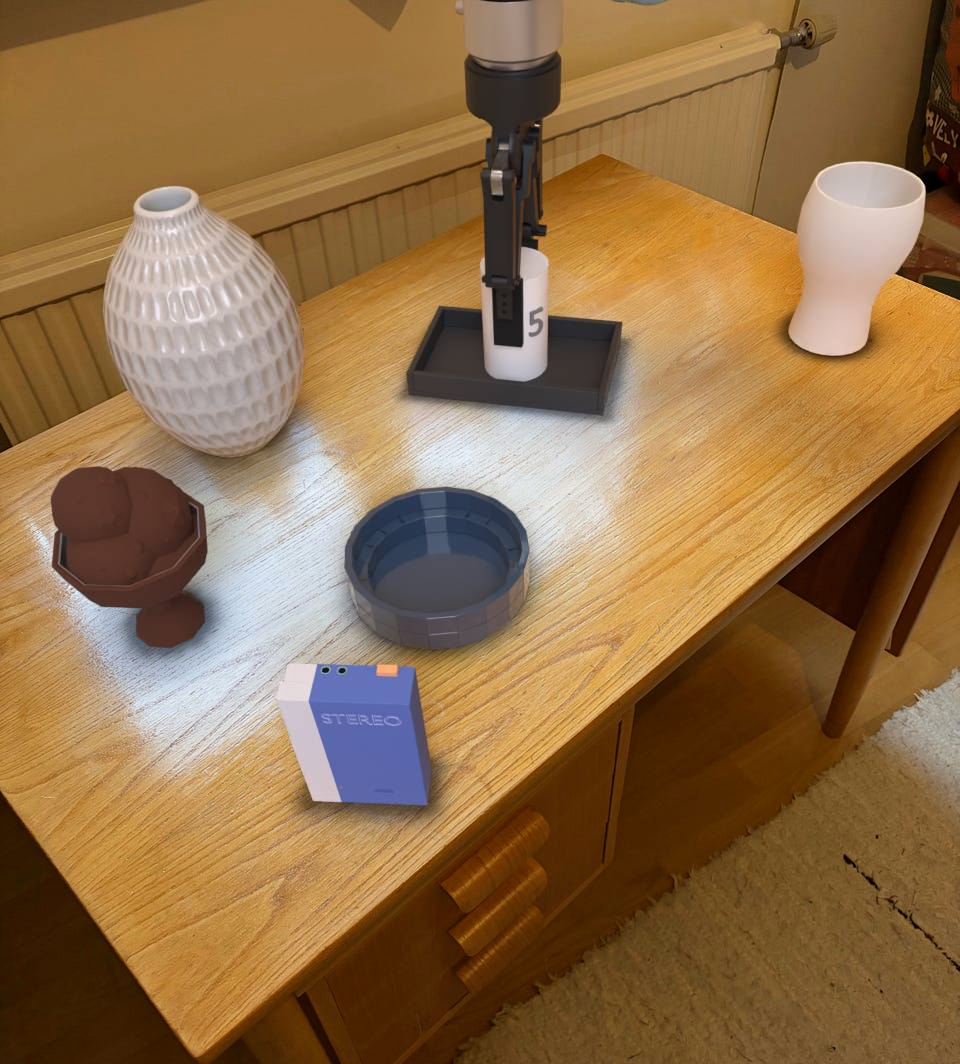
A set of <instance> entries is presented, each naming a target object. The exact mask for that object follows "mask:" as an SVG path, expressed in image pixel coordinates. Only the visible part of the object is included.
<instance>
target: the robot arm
mask: <svg viewBox="0 0 960 1064" xmlns="http://www.w3.org/2000/svg"><path fill="white" fill-rule="evenodd" d="M611 1H612V2H614V3H622V4H623V3H624V4H625V3H629V4H634V5H639V6H647V7H649V6H658V5H660V4H662V3H665V2H668V0H611ZM454 12H455V13H456V14H457V15H460V16H462V17H463V19H462V20H463V23H462V32H463V33H462V34H463V47H464V50H465V52H467V53H468V55H467V56H466V58H465V59H464V61H463V67H464V85H465V86H464V87H465V103H466V107H467V110H468V111H469V112H470V114H471V115H473V117H475V118H477V119H478V120H482V121H485V122H486V123H487V124H489V126H490V127H491V132H490V137H487V138H486V141H485V155H484V156H485V161H486V163H487V167H485V166H483V167H482V168H481V172H480V176H479V177H480V180H481V181H480V182H481V190H482V199H483V242H484V246H483V247H484V248H483V249H484V257H485V275H483V277H482V283H485V286H486V287H488V288H492V307H493V334H494V345H500V346H510V347H520V348H522V346H523V343H524V326H523V278H521V276H520V264H521V247H527V248H531V249H535V250H537V251H539V239H538V238H535V237H540V238H541V237H542V238H546V237H547V232H548V224H541V223H540V221H542V218H543V217H544V208H543V207H544V206H543V126H544V125H543V124H544V119H545V118H547V117H549V116H550V115H552V114H553V113H554V112H555V111H556V110H557V109H558V107H559V106H560V103H561V98H562V97H561V96H562V56H561V54H560V53H559V51H558V50H559V49H560V48H561V46H562V45H563V43H564V42H563V41H564V0H456V1H455V5H454Z"/></svg>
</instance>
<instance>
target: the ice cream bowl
mask: <svg viewBox="0 0 960 1064" xmlns="http://www.w3.org/2000/svg"><path fill="white" fill-rule="evenodd" d="M50 507H51V516H52V520H53V523H54V526H55V528H57V530H56V531H55V533H54V534H53V535H54V537H53V545H52V546H53V548H52V557H51V558H52V559H51V568H52V569H53V570H54V571H55V573H57V574H58V575H59V576H60V577H61V578H62V580H64V581H65V582H66V583H68V584H69V585H70V586H71V587H73V588H74V589H75V590H76V591H78V593H80V594H81V595H82V596H84V597H85V598H86V599H87V600H88V601H90V602H91V603H93V604H95V605H97V606H99V607H101V608H118V609H119V608H121V609H140V611H138V613H137V614H136V615H135V616H136V617H135V634H136V635H135V636H136V637H137V638H138V639H139V640H140V641H142V642H143V643H144V644H145V645H146V646H147V647H148V648H162V649H163V648H169V649H172V648H174V647H176V646H178V645H181V644H183V643H185V642H187V641H190V640H192V639H193V638H194V637H195V636H196V635H197V633H198V632H199V631H200V630H201V628H202V626H203V625H204V624H205V623H206V620H205V618H206V617H205V606H204V605H203V604H202V603H201V602H199V601H198V600H197V599H195V598H194V597H193V596H191V595H190V594H189V593H186V592H185V593H184V592H183V590H185V588H186V587H187V586H188V585H189V584H190V583H191V581H192V580H193V579H194V577H196V575H197V574H198V572H199V571H200V570H201V569H202V568H203V566H204V565H205V564H206V561H207V556H208V552H209V551H208V550H209V549H208V548H209V547H208V536H207V534H208V533H207V521H206V512H205V505H204V504H203V503H201V502H200V501H198V500H197V499H196V498H194V497H192V496H191V495H190V494H188V493H187V492H186V491H183V489H182V488H181V487H179V486H178V485H177V484H175V483H174V481H173V480H172V479H170V478H168V477H166V476H164V475H162V474H161V473H160V472H158V471H156V470H155V469H152V468H147V467H138V466H123V467H120V468H118V469H115V470H113V469H111V468H109V467H104V466H100V465H99V466H98V465H96V466H95V465H94V466H85V467H77V468H74V469H73V470H71V471H69V472H68V473H66V474H65V475H64V476H62V477H61V478H60V479H59V480H58V482H57V484H56V486H55V487H54V489H53V490H52V493H51V496H50ZM182 592H183V593H182Z"/></svg>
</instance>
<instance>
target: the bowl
mask: <svg viewBox="0 0 960 1064" xmlns="http://www.w3.org/2000/svg"><path fill="white" fill-rule="evenodd" d="M530 551H531V549H530V544H529V538H528V532H527V530H526V528H525V526H524V525H523V522H521V520H520V519H519V517H518V516H517V514H516V513H515V511H513V510H512V509H510V508H509V507H508V506H507V505H505V504H504V503H502V501H500V500H499V499H498V498H496V497H493V496H489V495H487V494H485V493H481V492H480V491H476V490H474V489H469V488H461V487H455V486H454V487H453V486H437V487H436V486H435V487H425V488H417V489H414V490H410V491H407V492H404V493H400V494H398V495H394V496H391V497H390V498H388V499H387V500H385V501H383V502H381V503H380V504H378V505H376V506H375V507H373V508H371V509H370V510H369V511H368V512H367V513H366V514H365V515H363V517H362V518H361V519H360V520H359V521H358V522H357V523H356V524H355V525H354V526H353V528H352V530H351V533H350V535H349V537H348V539H347V541H346V543H345V546H344V560H343V561H344V564H343V565H344V566H343V567H344V571H345V576H346V581H347V584H348V588H349V589H348V590H349V593H350V597H351V600H352V603H353V605H354V607H355V610H356V612H357V614H358V616H359V618H360V619H361V620H362V621H363V622H364V623H365V624H366V625H367V626H368V627H370V629H372V631H374V632H375V633H376V634H377V635H378V636H379V637H380V636H381V637H383V638H384V639H387V640H389V641H391V642H393V643H396V644H398V645H400V646H403V647H409V648H416V649H422V650H428V651H429V650H431V651H433V650H444V649H453V648H462V647H466V646H468V645H470V644H471V645H472V644H473V643H476V642H479V641H482V640H484V639H488V638H489V637H490V636H492V635H493V634H495V633H496V632H498V631H499V630H501V629H502V628H503V627H505V626H506V625H508V624H509V623H510V622H511V621H512V620H513V618H514V617H515V616H516V614H517V613H518V612H519V610H520V609H521V608H522V606H523V605H524V604H525V601H526V598H527V594H528V590H529V586H530V583H531V582H530V581H531V574H530V573H531V558H530V557H531V555H530V554H531V553H530Z"/></svg>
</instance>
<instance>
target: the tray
mask: <svg viewBox="0 0 960 1064" xmlns="http://www.w3.org/2000/svg"><path fill="white" fill-rule="evenodd" d="M622 332H623V321H619V320H617V321H616V320H608V319H595V318H586V317H585V318H584V317H574V316H573V317H572V316H561V315H552V314H551V315H549V314H548V348H547V367H546V370H545V371H544V372H543V373H542V374H541V375H540V376H538V377H536V378H534V379H532V380H529V381H524V382H523V381H514V380H504V379H496V378H494V377H492V376H491V375H490V374H489V373H488V372H487V371H486V369H485V362H484V342H483V321H482V308H471V307H459V306H448V305H438V307H437V309H436V311H435V313H434V315H433V317H432V319H431V321H430V323H429V325H428V327H427V330H426V332H425V334H424V335H423V338H422V340H421V341H420V344H419V346H418V348H417V350H416V353H415V354H414V356H413V358H412V361H411V362H410V365H409V366H408V369H407V371H406V381H407V389H408V395H409V396H419V397H426V398H427V397H428V398H437V399H447V400H455V401H466V402H473V403H484V404H493V405H502V406H512V407H521V408H528V409H529V408H530V409H540V410H547V411H548V410H550V411H559V412H567V413H577V414H587V415H595V416H596V415H597V416H604V415H605V411H606V410H605V409H606V405H607V402H608V397H609V393H610V390H611V389H610V388H611V385H612V381H613V377H614V373H615V368H616V364H617V360H618V356H619V353H620V352H619V351H620V348H621V343H622Z"/></svg>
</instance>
